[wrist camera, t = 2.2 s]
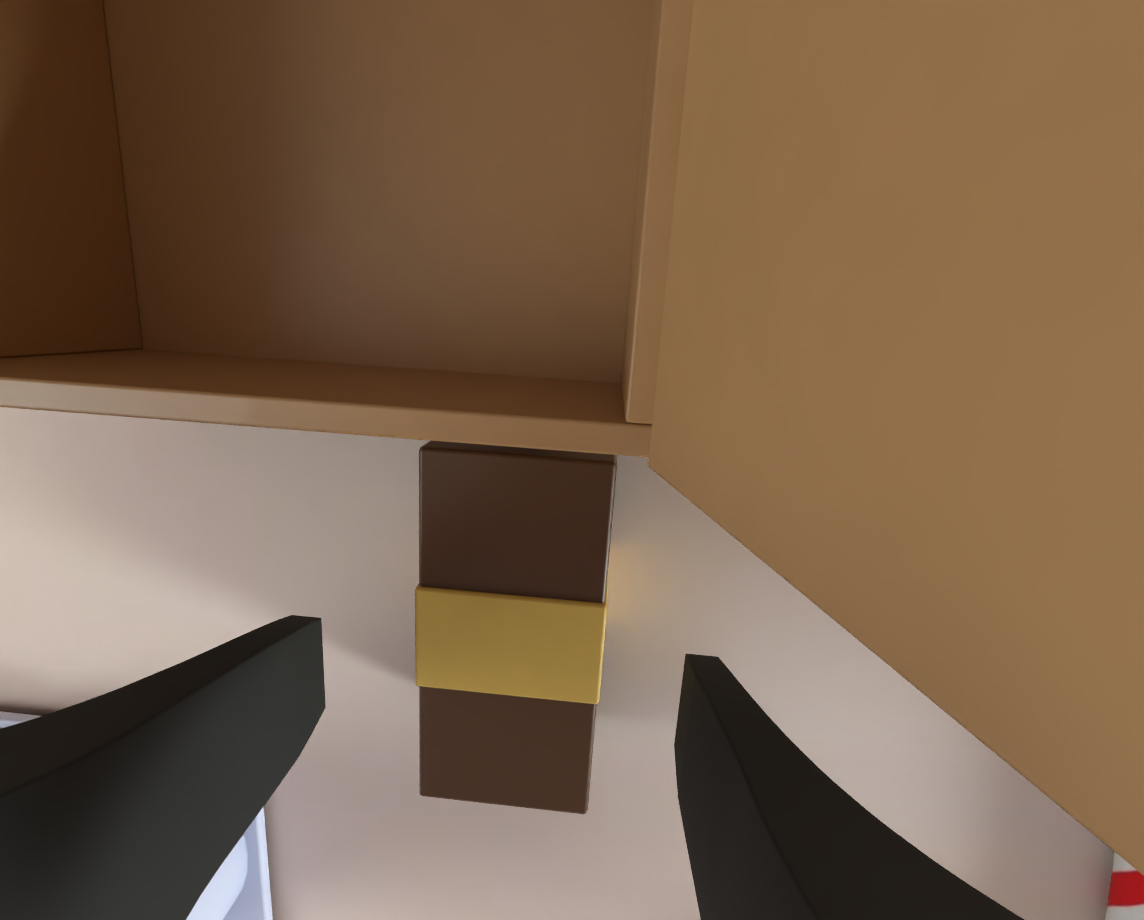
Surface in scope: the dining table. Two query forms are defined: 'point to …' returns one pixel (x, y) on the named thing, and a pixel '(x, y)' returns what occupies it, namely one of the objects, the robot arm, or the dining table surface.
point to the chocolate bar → (511, 621)
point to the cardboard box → (342, 214)
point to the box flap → (929, 352)
